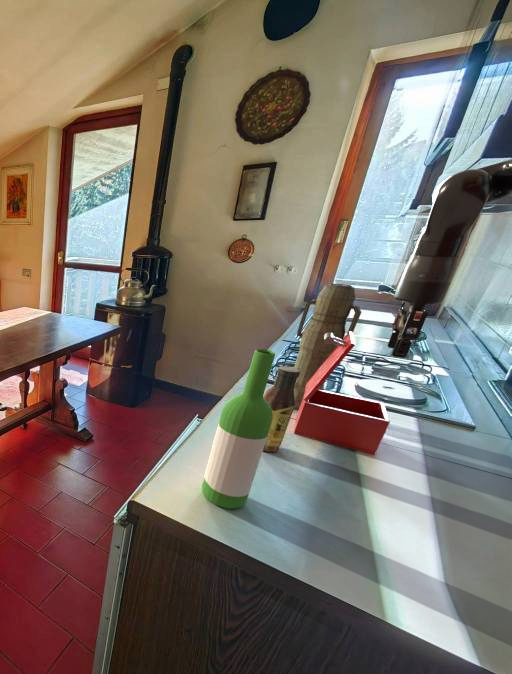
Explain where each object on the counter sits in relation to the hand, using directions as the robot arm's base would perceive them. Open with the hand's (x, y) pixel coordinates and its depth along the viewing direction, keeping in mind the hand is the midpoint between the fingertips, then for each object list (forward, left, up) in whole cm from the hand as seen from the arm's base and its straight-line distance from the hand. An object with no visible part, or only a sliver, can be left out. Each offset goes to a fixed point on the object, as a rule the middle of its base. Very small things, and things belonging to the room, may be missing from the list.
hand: (395, 352), depth 88 cm
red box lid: (+10, -1, -6) cm, 12 cm away
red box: (+5, -1, -23) cm, 24 cm away
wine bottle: (+27, +43, -23) cm, 56 cm away
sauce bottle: (+20, +16, -23) cm, 35 cm away
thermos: (+11, -17, -23) cm, 31 cm away
